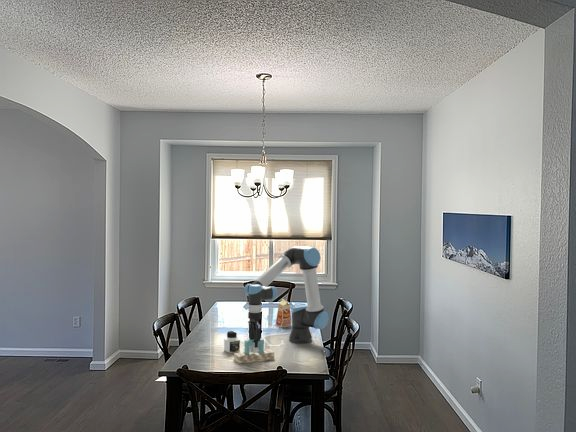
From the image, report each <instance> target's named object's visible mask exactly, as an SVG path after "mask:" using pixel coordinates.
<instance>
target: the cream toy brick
mask: <svg viewBox="0 0 576 432" xmlns="http://www.w3.org/2000/svg"><path fill="white" fill-rule="evenodd" d="M244 352H245V351H239V352H233V361H235V362H236V363H237V364H246V363H252V362H263V361H271V360H275V351H274V350H271V349H269V348H268V349H267V348H264V353H260V354H259V349H258V353H253V352H251V351H250V352H249V355H246V354H244Z"/></svg>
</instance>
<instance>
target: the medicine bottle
mask: <svg viewBox="0 0 576 432" xmlns="http://www.w3.org/2000/svg"><path fill="white" fill-rule="evenodd" d="M240 345H241V340H240V339H239V338H238V332H237V331H235V330H228V331H227V333H226V338H225V339H223V347H224V348H223V351H224V352H227V353H229V354H232V353H233V354H234V353H240V352H241V351H240V349H241V346H240Z"/></svg>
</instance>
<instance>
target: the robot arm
mask: <svg viewBox="0 0 576 432" xmlns="http://www.w3.org/2000/svg"><path fill="white" fill-rule="evenodd" d="M321 258H322V257H321V253H320V251H319V250H318V248H316V247H312V246H302V245H294V246H293V247H290V248H288V249H286V251H284V252H282V253H281V254H280V255H279V257H278V259H277V260H276V261H275V262H274V263H273V264H272V265H271V266H270V267H269V268H267V270H266V271H264V272H263V273H262V274H261V275H260V276H259V277H258V278H257V279H256V280H255V281H253V282H252V283H247V284H245V285H244V289H243V292H244V294H245V295H246V296H247V297H248V306H247V308H248V313H247V314H248V316H247V318H248V322H247V323H248V338H249V340H253V339H254V341H253V345H250V353H251V352H253V353H258V350H259V345H258V342H259V341H260V339H261V329H262V328H261V327H262V324H260V320H261V319H262V301H267V300H274V299H276V298H277V297H278V289H277V287H276V286H271V285H270V284H271V283H272V282H273V281H274V280H275V279H277V278H278V277H279V276H280V275H281V274H282V273H283V272H284V271H286V270H287V268H291V267H292V266H293V265H298V266H299V270H300V271H302V276H303V282H304V290H305V295H306V296H305V297H306V302H307V303H306V304H307V305H296V306H293V307H292V309H291V330H290V333H289V337H288V340H289V342H290V343H295V344H306V343H307V344H308V343H310V342H313V337H312V333H311V330H310V328H312V329H316V330H323V329H324V328H325V327H326V326H327V325H328V323H329V319H330V316H329V313H328V312H327V311H325V309H324V305H322V303H321V296H320V289H319V282H318V275H317V269H318V266H319V264H320V263H321ZM269 285H270V286H269Z"/></svg>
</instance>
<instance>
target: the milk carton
mask: <svg viewBox="0 0 576 432" xmlns="http://www.w3.org/2000/svg"><path fill="white" fill-rule="evenodd" d="M275 325H276V327H279V328H287V327H292V312H291V306H290V303H289V301H287V300H285V299H284V298H281V301H280V302H279V303H278V307H277V313H276V320H275ZM275 325H274V326H275Z"/></svg>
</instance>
